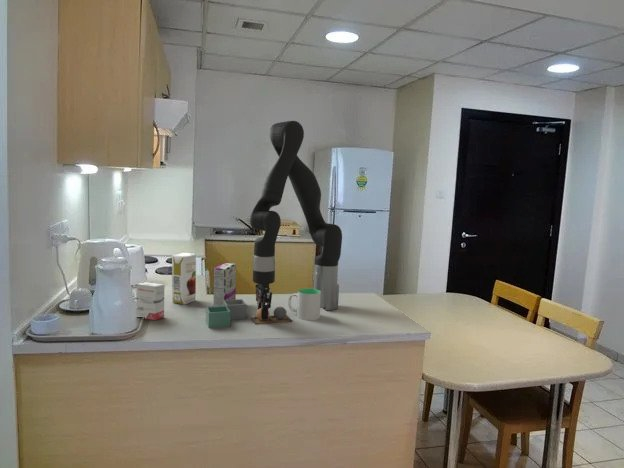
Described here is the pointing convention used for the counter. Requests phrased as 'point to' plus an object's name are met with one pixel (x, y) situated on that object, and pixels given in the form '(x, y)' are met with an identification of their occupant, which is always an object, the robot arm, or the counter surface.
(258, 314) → the ball clay
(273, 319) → the rack
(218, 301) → the candy bar box
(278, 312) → the ball grey
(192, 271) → the juice carton
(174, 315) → the counter surface
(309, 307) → the mug
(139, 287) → the ink box
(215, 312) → the green open box
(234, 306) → the grey open box
